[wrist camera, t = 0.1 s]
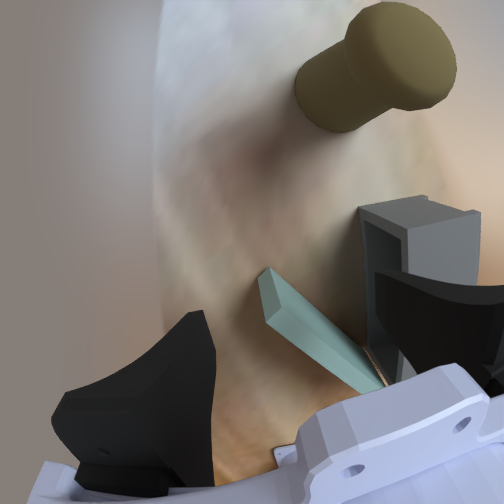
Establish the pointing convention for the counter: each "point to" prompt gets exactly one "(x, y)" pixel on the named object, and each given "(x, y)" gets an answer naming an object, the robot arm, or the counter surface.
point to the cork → (377, 68)
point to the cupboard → (414, 259)
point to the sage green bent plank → (315, 334)
